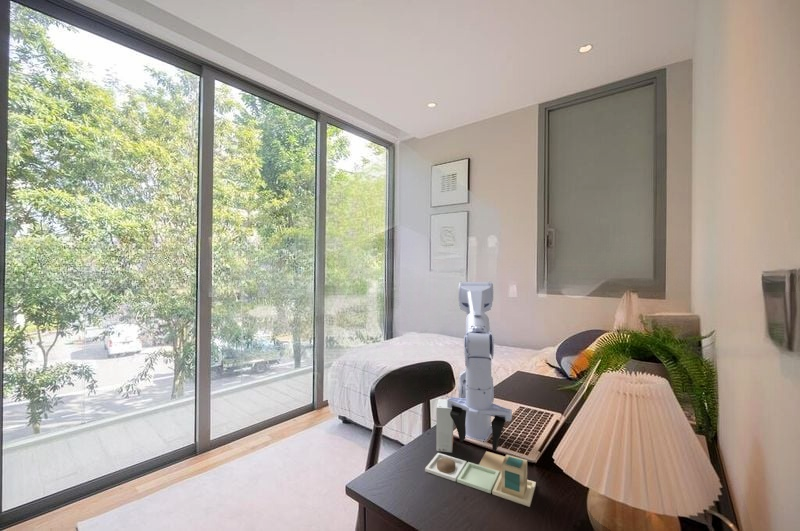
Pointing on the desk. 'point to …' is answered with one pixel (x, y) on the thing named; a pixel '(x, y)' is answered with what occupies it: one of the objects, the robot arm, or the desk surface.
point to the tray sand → (525, 501)
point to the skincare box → (444, 427)
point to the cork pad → (492, 461)
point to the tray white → (451, 476)
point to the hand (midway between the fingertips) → (478, 444)
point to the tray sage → (478, 477)
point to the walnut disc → (446, 465)
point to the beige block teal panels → (514, 476)
